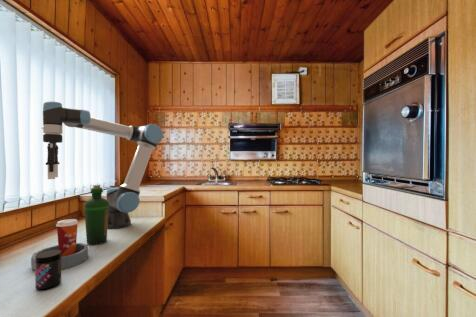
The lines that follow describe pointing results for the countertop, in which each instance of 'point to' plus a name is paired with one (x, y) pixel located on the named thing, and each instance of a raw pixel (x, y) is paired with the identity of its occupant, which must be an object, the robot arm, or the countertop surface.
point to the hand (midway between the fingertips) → (53, 178)
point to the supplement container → (47, 270)
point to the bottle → (96, 217)
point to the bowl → (69, 260)
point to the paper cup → (67, 236)
